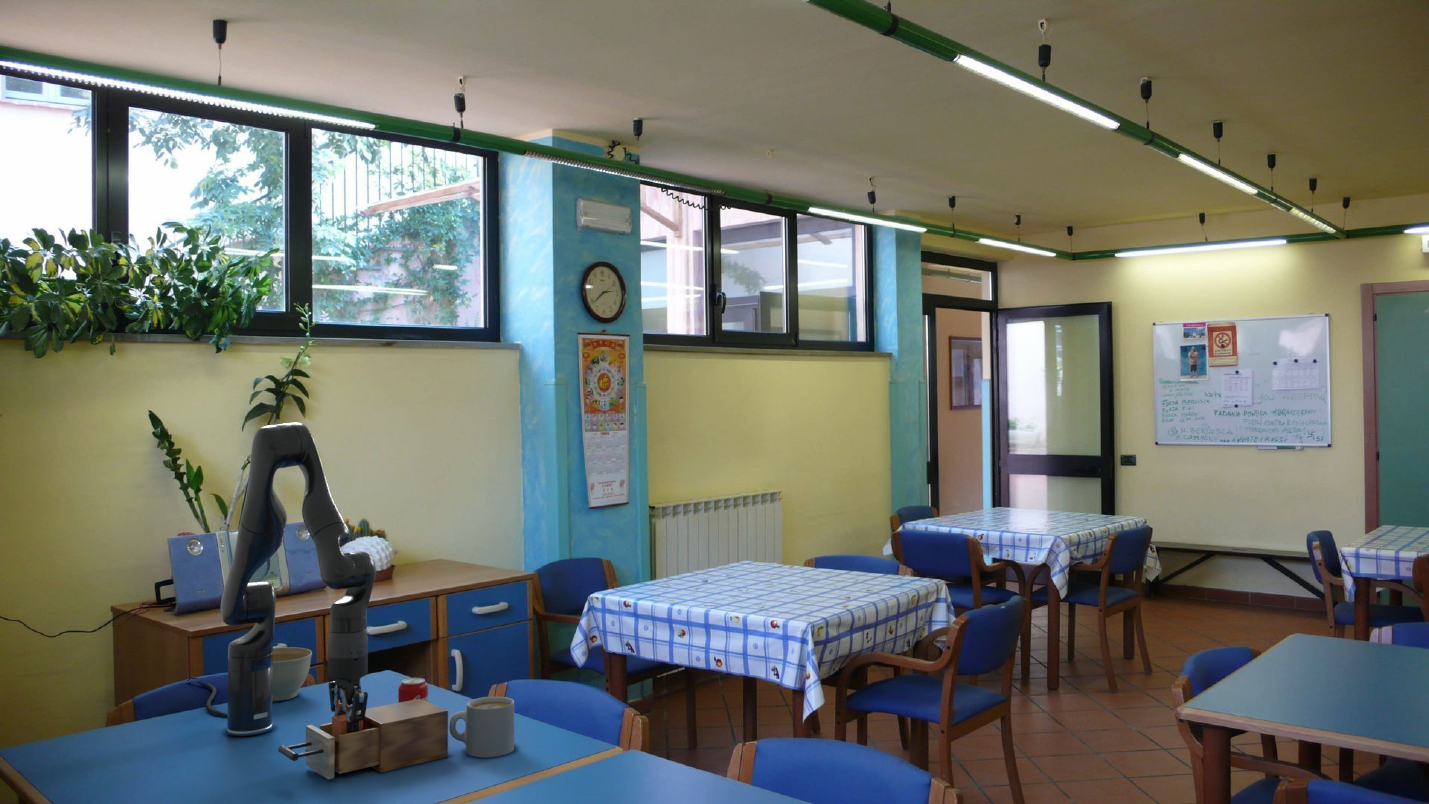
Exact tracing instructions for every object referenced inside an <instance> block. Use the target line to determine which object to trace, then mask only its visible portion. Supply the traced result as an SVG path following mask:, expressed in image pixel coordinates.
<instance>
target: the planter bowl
mask: <svg viewBox="0 0 1429 804" xmlns="http://www.w3.org/2000/svg"><path fill="white" fill-rule="evenodd" d="M312 656H313V651H312V650H311V649H308V648H304V647H295V646H293V647H290V646H289V647H273V683H272V702H281V701H288V700H290V699H291V700H292V699H293V698H295V697H297V696H298V693H299V690H300V689H301V687H302V686H303V685H304V683H305V682H306V679H307V677H308V674H309V671H310V669H311V662H312Z"/></svg>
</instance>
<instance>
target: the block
mask: <svg viewBox="0 0 1429 804" xmlns="http://www.w3.org/2000/svg"><path fill="white" fill-rule="evenodd" d="M331 723H332V736H333V737H335V741H336V742H338V735H343V734H347V718H346V714H343V715H337V716H335V715H333V716H331ZM362 730H363V720H361V721H359V731H362Z"/></svg>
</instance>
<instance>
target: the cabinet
mask: <svg viewBox="0 0 1429 804" xmlns="http://www.w3.org/2000/svg"><path fill="white" fill-rule="evenodd" d="M360 713H361V710H360ZM365 720H367V721H369V722H371V723H373V724H375V725H377V726H379V727H380V765H376V766H371V767H370V768H372V769H374V770H376V771H378V772H380V773H385V772H389V771H393V770H397V769H398V770H399V769H402V768H406V767H411V766H414V765H419V764H424V763H427V762H431V761H436V760H440V759H444V758H445V759H446V758H448V757H449V710H448V709H446V708H443V707H440V706H438V705H436V704H434V703H431V702H429V701H428V702H427V701H424V700H422V699H416V700H410V701H405V702H400V703H398V702H395V703H391V704H384V705H379V706H375V707H370V708H366V713H365Z"/></svg>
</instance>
